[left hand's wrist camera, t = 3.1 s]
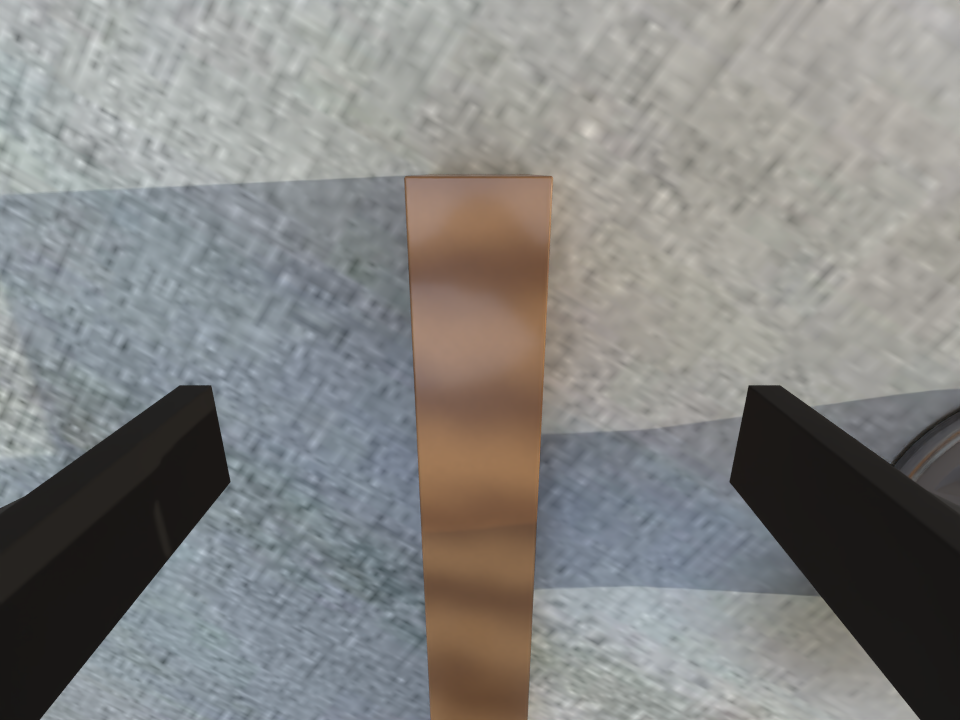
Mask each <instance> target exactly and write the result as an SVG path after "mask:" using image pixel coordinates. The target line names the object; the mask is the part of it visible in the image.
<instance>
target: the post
mask: <svg viewBox="0 0 960 720" xmlns="http://www.w3.org/2000/svg"><path fill="white" fill-rule="evenodd" d="M404 183H405V204H406V224H407V245H408V265H409V286H410V306H411V327H412V347H413V368H414V388H415V409H416V429H417V450H418V470H419V491H420V511H421V532H422V552H423V573H424V593H425V614H426V634H427V655H428V675H429V696H430V716H431V720H527V719H528V698H529V677H530V656H531V634H532V613H533V592H534V570H535V549H536V528H537V507H538V485H539V464H540V443H541V421H542V400H543V379H544V357H545V336H546V315H547V294H548V272H549V251H550V230H551V208H552V187H553V177H552V176H543V175H529V174H429V175H415V176H406V177H405V178H404Z"/></svg>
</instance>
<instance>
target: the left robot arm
mask: <svg viewBox="0 0 960 720" xmlns="http://www.w3.org/2000/svg"><path fill="white" fill-rule="evenodd" d="M229 483H230V477H229V472H228V467H227V462H226V457H225V452H224V447H223V442H222V437H221V432H220V427H219V422H218V417H217V412H216V407H215V402H214V397H213V392H212V387H211V385H180V386H178V387H177V388H176V389H174V390H173V391H171V392H170V393H169V394H167V395H166V396H164V397H163V398H162V399H160V400H159V401H157V402H156V403H155V404H153V405H152V406H150V407H149V408H148V409H146V410H145V411H143V412H142V413H141V414H139V415H138V416H136V417H135V418H134V419H132V420H131V421H129V422H128V423H127V424H125V425H124V426H122V427H121V428H120V429H118V430H117V431H115V432H114V433H113V434H111V435H110V436H108V437H107V438H106V439H104V440H103V441H101V442H100V443H99V444H97V445H96V446H94V447H93V448H92V449H90V450H89V451H87V452H86V453H85V454H83V455H82V456H80V457H79V458H78V459H76V460H75V461H73V462H72V463H71V464H69V465H68V466H66V467H65V468H64V469H62V470H61V471H59V472H58V473H57V474H55V475H54V476H53V477H51V478H50V479H48V480H47V481H46V482H44V483H43V484H41V485H40V486H39V487H37V488H36V489H34V490H33V491H32V492H30V493H29V494H27V495H26V496H24V497H22V498H20V499H18V500H16V501H14V502H12V503H10V504H8V505H6V506H4V507H2V508H0V720H40V719H41V717H42V716H43V715H44V714H45V712H46V711H47V710H48V709H49V707H50V706H51V705H52V704H53V703H54V701H55V700H56V699H57V698H58V696H59V695H60V694H61V693H62V691H63V690H64V689H65V688H66V686H67V685H68V684H69V683H70V681H71V680H72V679H73V678H74V676H75V675H76V674H77V673H78V671H79V670H80V669H81V668H82V666H83V665H84V664H85V663H86V661H87V660H88V659H89V658H90V656H91V655H92V654H93V653H94V651H95V650H96V649H97V648H98V646H99V645H100V644H101V643H102V641H103V640H104V639H105V638H106V636H107V635H108V634H109V633H110V631H111V630H112V629H113V628H114V626H115V625H116V624H117V623H118V621H119V620H120V619H121V618H122V616H123V615H124V614H125V613H126V612H127V610H128V609H129V608H130V607H131V605H132V604H133V603H134V602H135V600H136V599H137V598H138V597H139V595H140V594H141V593H142V592H143V590H144V589H145V588H146V587H147V585H148V584H149V583H150V582H151V580H152V579H153V578H154V577H155V575H156V574H157V573H158V572H159V570H160V569H161V568H162V567H163V565H164V564H165V563H166V562H167V560H168V559H169V558H170V557H171V555H172V554H173V553H174V552H175V550H176V549H177V548H178V547H179V545H180V544H181V543H182V542H183V540H184V539H185V538H186V537H187V535H188V534H189V533H190V532H191V530H192V529H193V528H194V527H195V526H196V524H197V523H198V522H199V521H200V519H201V518H202V517H203V516H204V514H205V513H206V512H207V511H208V509H209V508H210V507H211V506H212V504H213V503H214V502H215V501H216V499H217V498H218V497H219V496H220V494H221V493H222V492H223V491H224V489H225V488H226V487H227V486H228V484H229ZM730 483H731V484H732V486H733V487H734V488H735V489H736V491H737V492H738V493H739V494H740V496H741V497H742V498H743V499H744V501H745V502H746V503H747V504H748V506H749V507H750V508H751V509H752V511H753V512H754V513H755V514H756V516H757V517H758V518H759V519H760V521H761V522H762V523H763V524H764V526H765V527H766V528H767V529H768V530H769V532H770V533H771V534H772V535H773V537H774V538H775V539H776V540H777V542H778V543H779V544H780V545H781V547H782V548H783V549H784V550H785V552H786V553H787V554H788V555H789V557H790V558H791V559H792V560H793V562H794V563H795V564H796V565H797V567H798V568H799V569H800V570H801V572H802V573H803V574H804V575H805V577H806V578H807V579H808V580H809V582H810V583H811V584H812V585H813V587H814V588H815V589H816V590H817V592H818V593H819V594H820V595H821V597H822V598H823V599H824V600H825V602H826V603H827V604H828V605H829V607H830V608H831V609H832V610H833V612H834V613H835V614H836V615H837V616H838V618H839V619H840V620H841V621H842V623H843V624H844V625H845V626H846V628H847V629H848V630H849V631H850V633H851V634H852V635H853V636H854V638H855V639H856V640H857V641H858V643H859V644H860V645H861V646H862V648H863V649H864V650H865V651H866V653H867V654H868V655H869V656H870V658H871V659H872V660H873V661H874V663H875V664H876V665H877V666H878V668H879V669H880V670H881V671H882V673H883V674H884V675H885V676H886V678H887V679H888V680H889V681H890V683H891V684H892V685H893V686H894V688H895V689H896V690H897V691H898V693H899V694H900V695H901V696H902V698H903V699H904V700H905V701H906V703H907V704H908V705H909V706H910V707H911V709H912V710H913V711H914V712H915V714H916V715H917V716H918V717H919V719H920V720H960V411H959V412H958V413H956V414H954V415H952V416H950V417H949V418H947V419H946V420H944V421H942V422H941V423H939V424H938V425H936V426H935V427H934V428H932V429H931V430H930V431H928V432H927V433H926V434H925V435H923V436H922V437H921V438H920V439H919V440H918V441H916V442H915V443H914V444H913V445H912V446H911V447H910V448H909V449H908V450H907V451H906V452H905V453H904V455H903V456H902V457H901V458H900V459H899V460H898V462H897V463H896V464H895V466H892V465H891V464H889V463H888V462H887V461H885V460H884V459H882V458H881V457H880V456H878V455H877V454H875V453H874V452H873V451H871V450H870V449H868V448H867V447H866V446H864V445H863V444H861V443H860V442H859V441H857V440H856V439H854V438H853V437H852V436H850V435H849V434H847V433H846V432H845V431H843V430H842V429H840V428H839V427H838V426H836V425H835V424H833V423H832V422H831V421H829V420H828V419H826V418H825V417H824V416H822V415H821V414H819V413H818V412H817V411H815V410H814V409H812V408H811V407H810V406H808V405H807V404H805V403H804V402H803V401H801V400H800V399H798V398H797V397H796V396H794V395H793V394H791V393H790V392H789V391H787V390H786V389H784V388H783V387H782V386H780V385H749V387H748V392H747V397H746V402H745V407H744V412H743V417H742V422H741V427H740V432H739V437H738V442H737V447H736V452H735V457H734V462H733V467H732V472H731V477H730Z"/></svg>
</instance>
